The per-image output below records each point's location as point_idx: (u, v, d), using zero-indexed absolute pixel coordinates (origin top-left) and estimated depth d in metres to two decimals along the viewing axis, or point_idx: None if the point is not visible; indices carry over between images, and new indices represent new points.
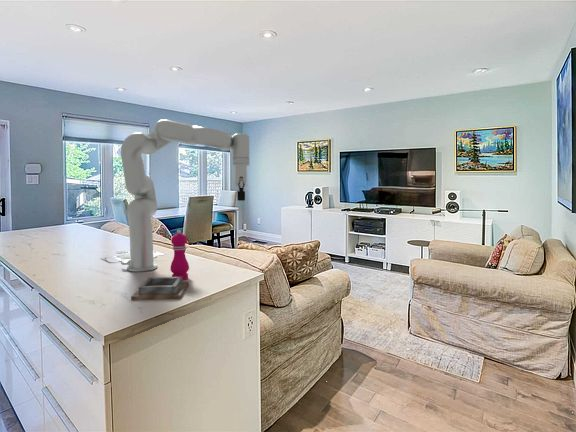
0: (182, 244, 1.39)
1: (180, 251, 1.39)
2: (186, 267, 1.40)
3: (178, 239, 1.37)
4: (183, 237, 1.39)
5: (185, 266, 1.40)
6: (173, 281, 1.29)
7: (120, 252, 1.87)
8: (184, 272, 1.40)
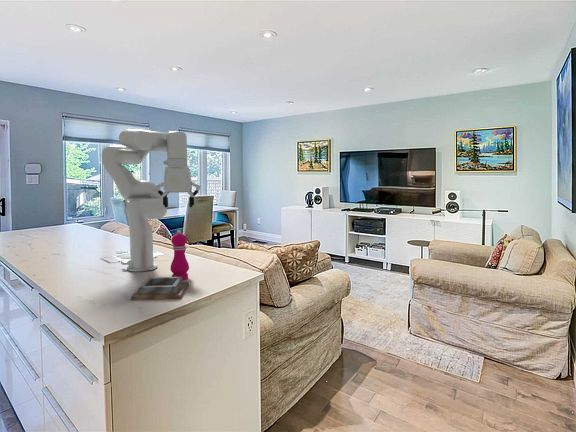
0: (182, 244, 1.39)
1: (180, 251, 1.39)
2: (186, 267, 1.40)
3: (178, 239, 1.37)
4: (183, 237, 1.39)
5: (185, 266, 1.40)
6: (173, 281, 1.29)
7: (120, 252, 1.87)
8: (184, 272, 1.40)
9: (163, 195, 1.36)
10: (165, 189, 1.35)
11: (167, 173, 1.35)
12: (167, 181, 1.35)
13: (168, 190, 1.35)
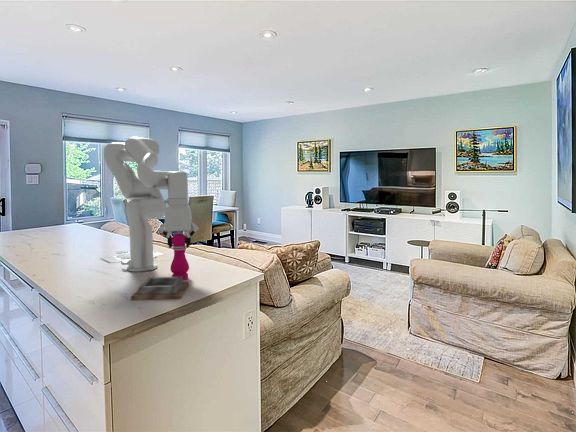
0: (182, 244, 1.39)
1: (180, 251, 1.39)
2: (186, 267, 1.40)
3: (178, 239, 1.37)
4: (183, 237, 1.39)
5: (185, 266, 1.40)
6: (173, 281, 1.29)
7: (120, 252, 1.87)
8: (184, 272, 1.40)
9: (168, 236, 1.38)
10: (166, 228, 1.37)
11: (168, 212, 1.36)
12: (168, 220, 1.36)
13: (169, 229, 1.37)
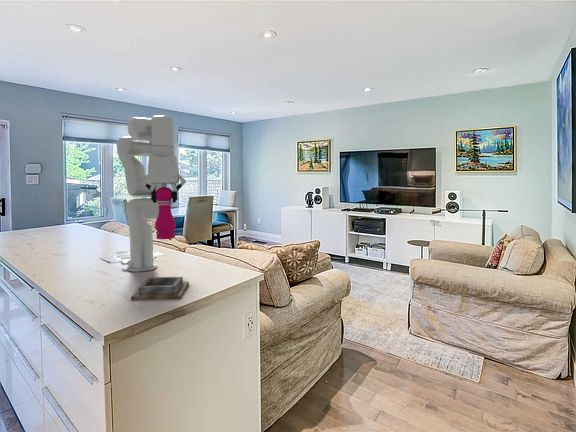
0: (168, 198, 1.24)
1: (166, 206, 1.24)
2: (172, 224, 1.25)
3: (163, 193, 1.22)
4: (169, 190, 1.24)
5: (172, 223, 1.25)
6: (173, 281, 1.29)
7: (120, 252, 1.87)
8: (170, 230, 1.25)
9: (151, 189, 1.23)
10: (149, 180, 1.22)
11: (151, 162, 1.21)
12: (151, 170, 1.21)
13: (152, 181, 1.22)
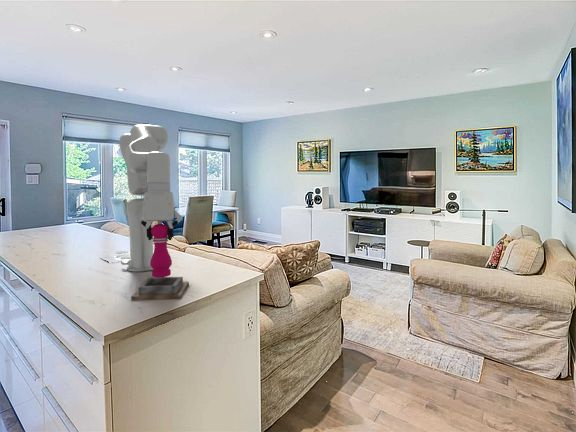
0: (163, 236, 1.21)
1: (161, 244, 1.21)
2: (168, 262, 1.22)
3: (159, 230, 1.20)
4: (164, 228, 1.21)
5: (167, 260, 1.22)
6: (173, 281, 1.29)
7: (120, 252, 1.87)
8: (166, 268, 1.22)
9: (147, 226, 1.21)
10: (144, 217, 1.19)
11: (147, 199, 1.19)
12: (147, 208, 1.19)
13: (148, 218, 1.19)
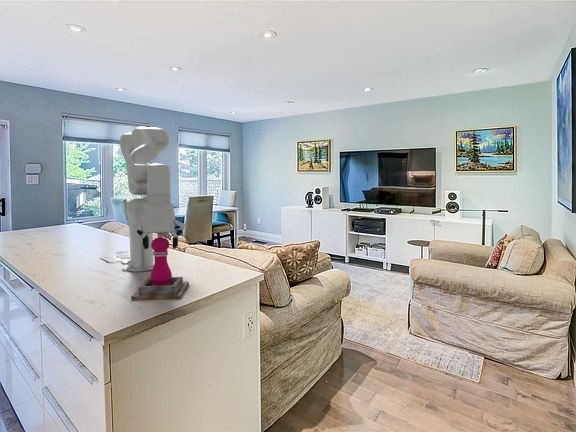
0: (163, 249, 1.22)
1: (161, 257, 1.22)
2: (168, 275, 1.23)
3: (159, 244, 1.20)
4: (165, 241, 1.22)
5: (167, 274, 1.22)
6: (173, 281, 1.29)
7: (120, 252, 1.87)
8: (166, 281, 1.23)
9: (143, 235, 1.21)
10: (145, 229, 1.19)
11: (147, 211, 1.19)
12: (147, 220, 1.19)
13: (148, 230, 1.19)
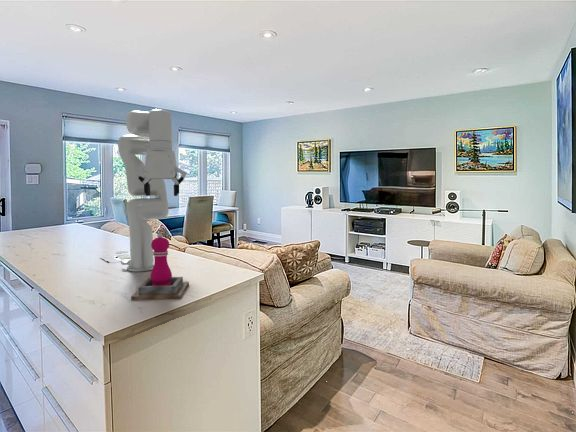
0: (163, 249, 1.22)
1: (161, 257, 1.22)
2: (168, 275, 1.23)
3: (159, 244, 1.20)
4: (165, 241, 1.22)
5: (167, 274, 1.23)
6: (173, 281, 1.29)
7: (120, 252, 1.87)
8: (166, 281, 1.23)
9: (144, 182, 1.21)
10: (146, 175, 1.20)
11: (148, 157, 1.19)
12: (149, 165, 1.20)
13: (149, 176, 1.20)
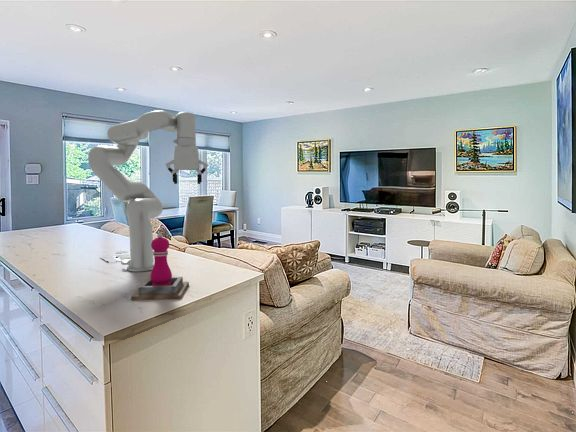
0: (163, 249, 1.22)
1: (161, 257, 1.22)
2: (168, 275, 1.23)
3: (159, 244, 1.20)
4: (165, 241, 1.22)
5: (167, 274, 1.23)
6: (173, 281, 1.29)
7: (120, 252, 1.87)
8: (166, 281, 1.23)
9: (173, 172, 1.46)
10: (175, 166, 1.44)
11: (177, 151, 1.44)
12: (177, 158, 1.44)
13: (178, 167, 1.44)
